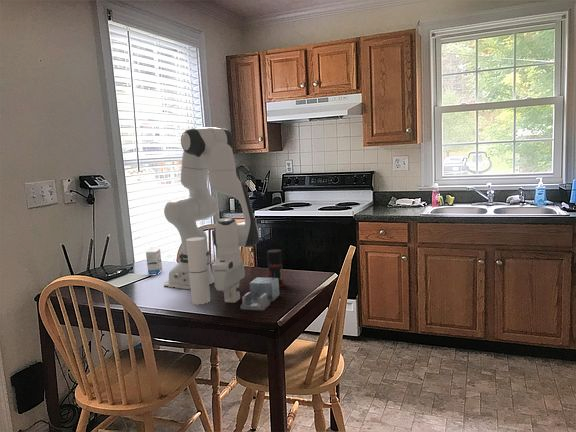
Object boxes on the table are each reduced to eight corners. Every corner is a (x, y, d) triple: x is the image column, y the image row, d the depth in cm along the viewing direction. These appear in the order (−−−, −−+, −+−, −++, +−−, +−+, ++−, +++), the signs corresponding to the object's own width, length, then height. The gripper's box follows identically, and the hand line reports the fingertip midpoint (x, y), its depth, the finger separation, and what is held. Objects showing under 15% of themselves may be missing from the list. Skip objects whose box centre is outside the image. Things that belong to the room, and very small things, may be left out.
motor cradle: (263, 310, 170) (262, 291, 169) (240, 309, 173) (239, 290, 172) (281, 293, 189) (279, 276, 188) (260, 292, 192) (258, 275, 191)
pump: (240, 302, 181) (239, 287, 180) (224, 302, 183) (223, 287, 182) (244, 299, 185) (243, 284, 184) (229, 298, 187) (228, 283, 186)
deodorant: (281, 287, 197) (279, 252, 195) (268, 287, 198) (265, 252, 196) (284, 283, 203) (282, 249, 201) (271, 283, 204) (268, 249, 202)
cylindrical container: (194, 305, 180) (188, 241, 177) (190, 300, 187) (184, 238, 183) (212, 302, 183) (206, 239, 180) (207, 297, 190) (202, 236, 186)
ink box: (158, 275, 232) (155, 251, 230) (148, 275, 232) (145, 252, 230) (162, 270, 240) (160, 248, 238) (153, 271, 240) (150, 248, 239)
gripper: (232, 254, 193) (235, 287, 195) (209, 266, 174) (213, 303, 175) (247, 254, 191) (249, 287, 193) (225, 267, 172) (228, 303, 174)
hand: (232, 295), depth 184 cm, fingers open, 6 cm apart
